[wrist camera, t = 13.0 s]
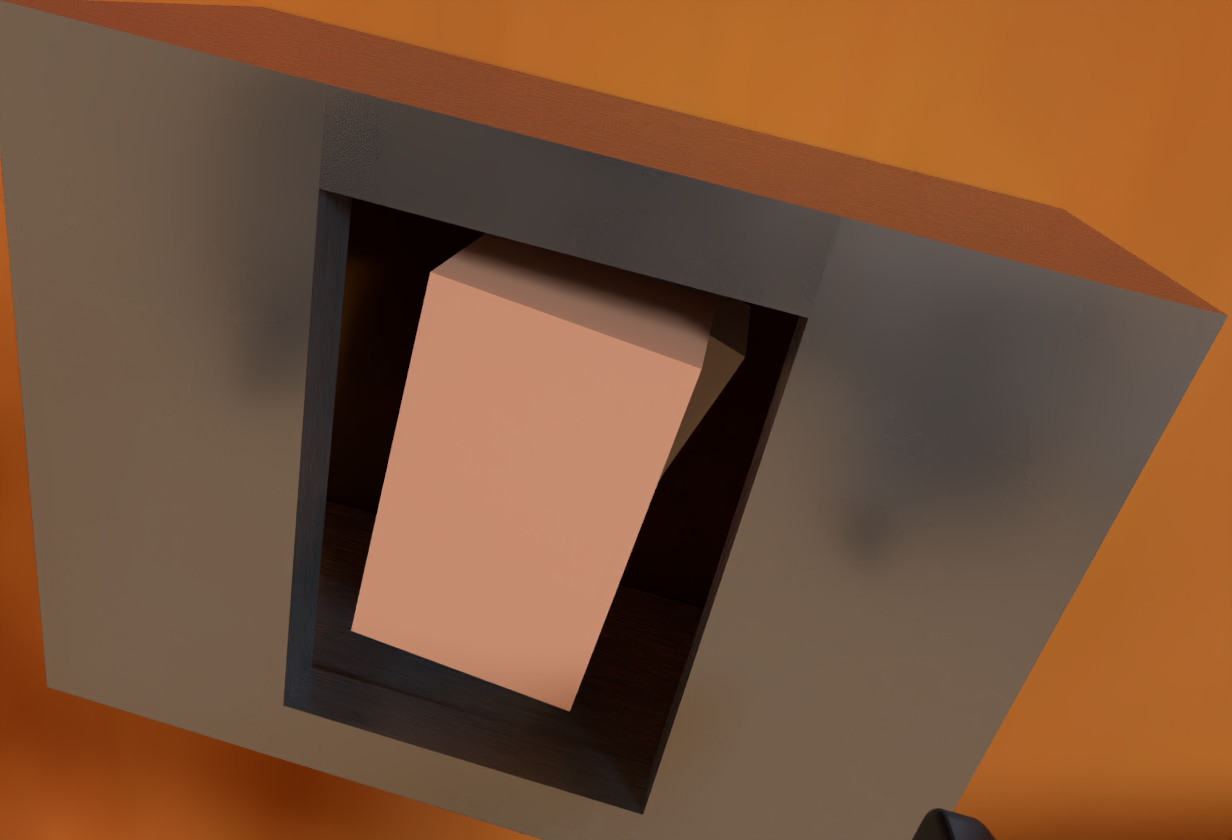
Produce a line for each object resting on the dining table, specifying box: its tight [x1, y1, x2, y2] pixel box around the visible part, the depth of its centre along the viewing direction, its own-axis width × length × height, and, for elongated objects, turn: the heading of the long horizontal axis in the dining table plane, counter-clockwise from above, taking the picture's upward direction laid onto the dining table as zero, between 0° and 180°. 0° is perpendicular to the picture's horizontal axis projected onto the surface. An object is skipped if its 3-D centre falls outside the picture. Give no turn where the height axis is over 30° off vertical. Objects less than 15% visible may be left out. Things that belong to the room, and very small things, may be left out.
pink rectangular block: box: [351, 233, 717, 711], centre depth 11 cm, size 3×5×2 cm, turn 163°
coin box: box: [0, 0, 1228, 840], centre depth 12 cm, size 12×9×5 cm
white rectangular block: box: [635, 272, 751, 480], centre depth 14 cm, size 3×5×2 cm, turn 150°
